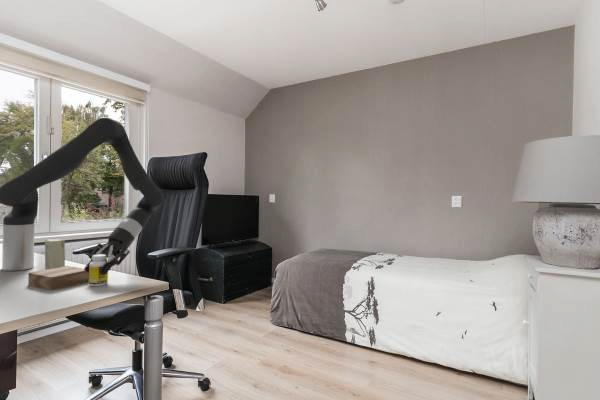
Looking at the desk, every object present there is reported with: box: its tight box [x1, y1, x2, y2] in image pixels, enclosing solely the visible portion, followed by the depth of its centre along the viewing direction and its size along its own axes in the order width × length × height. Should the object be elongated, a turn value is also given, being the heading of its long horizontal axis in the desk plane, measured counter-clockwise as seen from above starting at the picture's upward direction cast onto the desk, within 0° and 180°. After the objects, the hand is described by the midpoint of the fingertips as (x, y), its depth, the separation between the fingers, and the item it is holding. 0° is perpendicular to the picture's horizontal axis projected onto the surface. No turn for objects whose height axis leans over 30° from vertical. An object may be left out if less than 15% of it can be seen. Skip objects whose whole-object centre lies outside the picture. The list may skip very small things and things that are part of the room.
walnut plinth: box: [27, 265, 89, 291], centre depth 111 cm, size 12×12×4 cm
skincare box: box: [44, 238, 66, 270], centre depth 124 cm, size 6×4×12 cm
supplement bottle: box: [88, 253, 109, 287], centre depth 111 cm, size 5×5×10 cm
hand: (94, 272), depth 109 cm, fingers open, 6 cm apart
